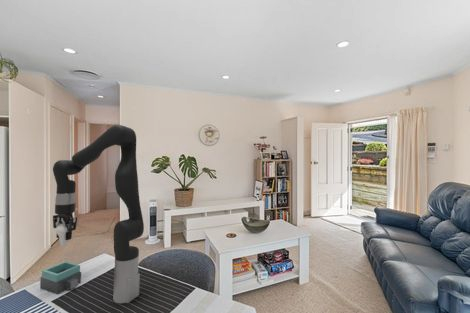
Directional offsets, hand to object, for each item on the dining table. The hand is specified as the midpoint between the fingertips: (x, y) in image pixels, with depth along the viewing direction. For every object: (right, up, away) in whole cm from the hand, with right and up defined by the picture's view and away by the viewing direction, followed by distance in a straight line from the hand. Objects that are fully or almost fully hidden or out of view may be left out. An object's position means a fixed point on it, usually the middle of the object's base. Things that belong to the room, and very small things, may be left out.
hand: (63, 238), depth 100 cm
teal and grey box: (+1, -22, -1) cm, 22 cm away
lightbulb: (0, -4, 0) cm, 4 cm away
